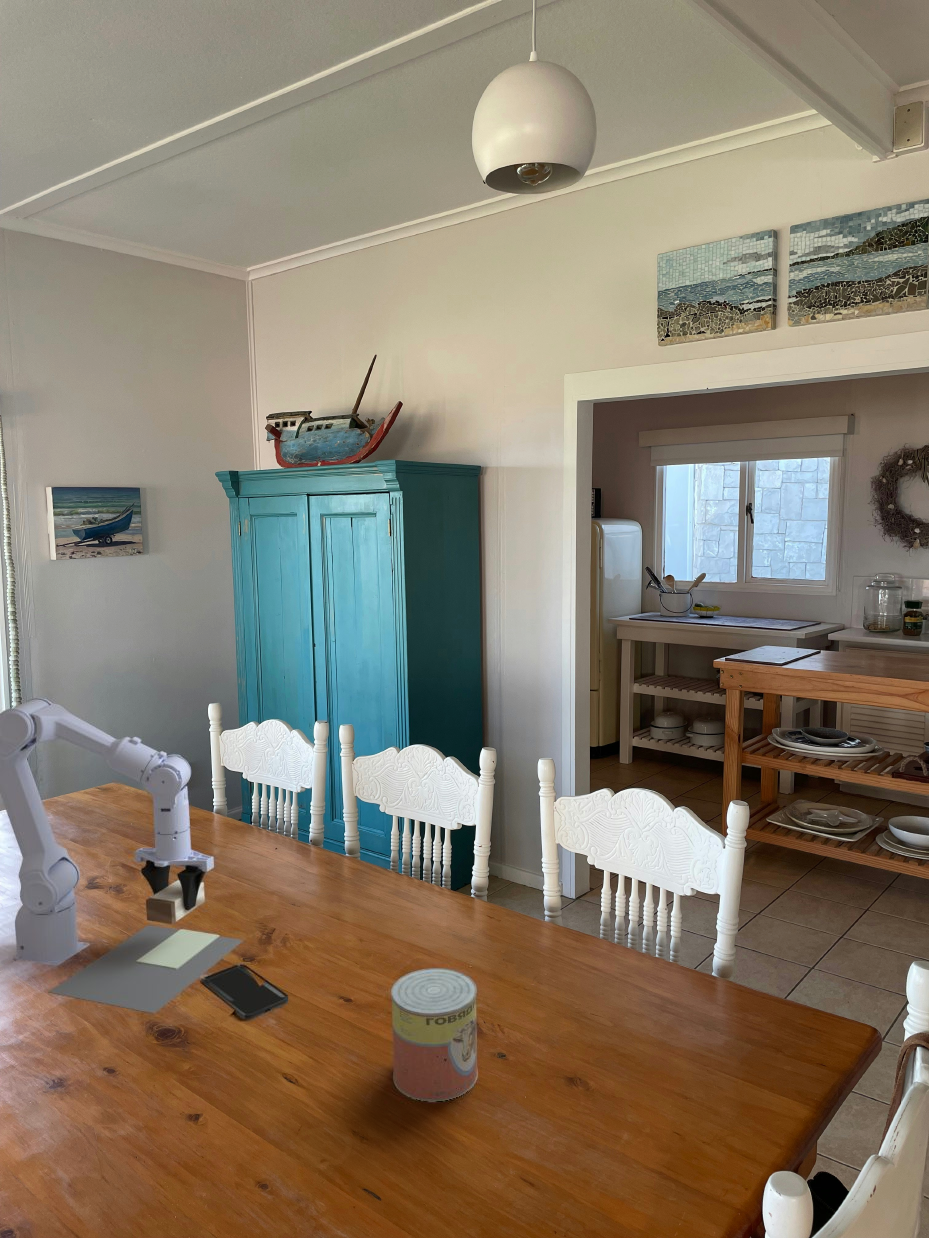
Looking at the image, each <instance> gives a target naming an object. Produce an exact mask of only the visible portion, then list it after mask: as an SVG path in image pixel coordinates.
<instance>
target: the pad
mask: <svg viewBox="0 0 929 1238" xmlns="http://www.w3.org/2000/svg"><path fill="white" fill-rule="evenodd" d="M178 930H179V931H178V932H176V933H175V934H173V935H172V936H171V937H169V938H168V939H166V940H165V941H164V942H162V943H161V944H159V945H158V946H157V947H155V948H154V949H152V950H151V951H150V952H148V953H147V954H145V955H144V956H143V957H141V958H140V959H138V960H137V961H136V962H139V963H144V964H150V965H155V966H161V967H167V968H172V969H178V968H179V967H180V966H182V965H183V964H184V963H186V962H187V961H188V960H189V959H191V958H192V957H193V956H195V955H196V954H197V953H198V952H200V951H201V950H202V949H204V948H205V947H206V946H207V945H209V944H210V943H211V942H213V941H214V940H215V939H216V938H218V937H219V936H220V935H219V934H215V933H207V932H201V931H195V930H189V929H184V928H181V929H178Z"/></svg>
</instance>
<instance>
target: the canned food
mask: <svg viewBox="0 0 929 1238" xmlns="http://www.w3.org/2000/svg"><path fill="white" fill-rule="evenodd" d="M477 992H478V990H477V985H476V983H475V982H474V980H473V979H472V978H471V977H470V976H468V975H466V974H465V973H463V972H460V971H459V970H458V971H457V970H453V969H448V968H442V967H441V968H440V967H439V968H438V967H434V968H432V967H431V968H424V969H419V970H415V971H412V972H408V973H407V974H404V975H403V976H401V977H399V979H397V980H396V981H395V982H394V983H393V985H392V987H391V989H390V996H391V1013H392V1014H391V1015H392V1049H393V1050H392V1053H393V1055H392V1057H393V1059H392V1060H393V1074H392V1075H393V1076H392V1079H393V1083H394V1085H395V1088H397V1090H398V1091H399V1092H400V1093H401V1094H403V1095H404V1096H406V1097H408V1098H410V1097H411V1098H410V1099H412V1100H415V1101H418V1100H421V1101H420V1102H423V1101H428V1102H427V1103H437V1102H436V1101H443V1102H446V1101H445V1100H448V1101H450V1100H449V1099H452V1098H455V1099H457V1098H456V1097H458V1098H460V1097H461V1095H462V1096H464V1095H465V1094H467V1093H468V1092H469V1091H471V1089H473V1087H474V1086H475V1085H476V1082H477V1081H478V1077H479V1076H478V1075H479V1070H478V1056H477V1055H478V1050H477V1049H478V1047H477V1045H478V1043H477V1040H478V1039H477ZM474 1084H475V1085H474ZM467 1091H468V1092H467ZM466 1092H467V1093H466ZM463 1094H464V1095H463ZM459 1096H460V1097H459ZM416 1099H417V1100H416ZM452 1100H453V1099H452Z"/></svg>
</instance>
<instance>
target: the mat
mask: <svg viewBox="0 0 929 1238" xmlns="http://www.w3.org/2000/svg"><path fill="white" fill-rule="evenodd" d="M179 930H180V929H178V928H177V929H176V928H171V927H167V926H165V927H164V926H159V925H151V924H147V925H146V926H145V927H144V928H142V929H141V930H139V931H137V932H136V933H135V934H133V935H131V936H130V937H128V938H127V939H125V940H123V942H121V943H119V944H118V945H116V946H115V947H113V948H112V949H110V950H109V951H108V952H106V953H104V954H103V955H101V956H100V957H99V958H97V959H96V960H94V961H93V962H91V963H89V964H88V965H87V966H85V967H83V968H82V969H81V970H79V971H78V972H76V973H74V974H73V975H72V976H70V977H68V978H67V979H66V980H64V981H63V982H61V983H60V984H58V985H57V986H55V987H53V988H52V989H51V990H49V991H48V994H49V993H50V994H54V995H58V996H65V997H69V998H75V999H78V1000H80V999H81V1000H84V1001H89V1002H93V1003H99V1004H104V1005H109V1006H115V1007H120V1008H124V1009H129V1010H133V1011H134V1010H135V1011H139V1012H142V1013H149V1014H156V1013H157V1012H158V1011H160V1010H161V1009H162V1008H164V1007H165V1006H166V1005H167V1004H168V1003H170V1002H171V1001H172V1000H174V998H176V997H177V996H178V995H179V994H181V993H182V992H183V991H184V990H185V989H187V987H189V986H190V985H191V984H193V983H194V982H195V981H196V980H197V979H199V978H200V977H201V976H203V975H204V974H205V973H206V972H207V971H208V970H210V969H212V967H213V966H214V965H216V964H217V963H218V962H219V961H221V960H222V959H223V958H225V956H227V955H228V954H229V953H230V952H232V951H233V950H235V948H236V947H238V946H239V945H240V944H241V943H242V942H244V940H243V939H240V938H239V939H238V938H234V937H233V938H232V937H227V936H220V935H219V937H218V938H216V939H215V940H214V941H213V942H211V943H210V944H209V945H207V946H206V947H205V948H204V949H202V950H201V951H200V952H198V953H197V954H196V955H195V956H193V957H192V958H191V959H189V960H188V961H187V962H186V963H184V964H183V965H182V966H180V967H179V968H178V969H172V968H167V967H161V966H155V965H150V964H144V963H139V962H136V961H137V960H138V959H140V958H141V957H143V956H144V955H145V954H147V953H148V952H150V951H151V950H152V949H154V948H155V947H157V946H158V945H159V944H161V943H162V942H164V941H165V940H166V939H168V938H169V937H171V936H172V935H173V934H175V933H176V932H178V931H179Z"/></svg>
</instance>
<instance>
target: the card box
mask: <svg viewBox="0 0 929 1238" xmlns="http://www.w3.org/2000/svg"><path fill="white" fill-rule="evenodd" d="M205 899H206V898H205V883H204V882H203V881H201V884H200V887H199V891H198V895H197V900H196V906H195V907H193V908H192V909H190V910H185V907H184V901H183V891H182V887H181V884H180V881H179V879H178V880H176V881H174V882H172V883H171V884H169V886H168V887H166V888H165V889H163V890H161V891H160V892H158V893H157V894H155V895H154V894H153V895H152V896H150V897H148V898H146V899H145V907H146V908H145V910H146V921H149V922H155V923H163V924H167V925H168V924H169V925H173V924H175V923H176V922H178V921H179V920H180V919H183V917H185V916H187V915H188V914H189V913H191V912H192V911H194V910H195V909H197V907H199V906H200V905H202V904H203V903H205V901H206V900H205Z"/></svg>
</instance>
